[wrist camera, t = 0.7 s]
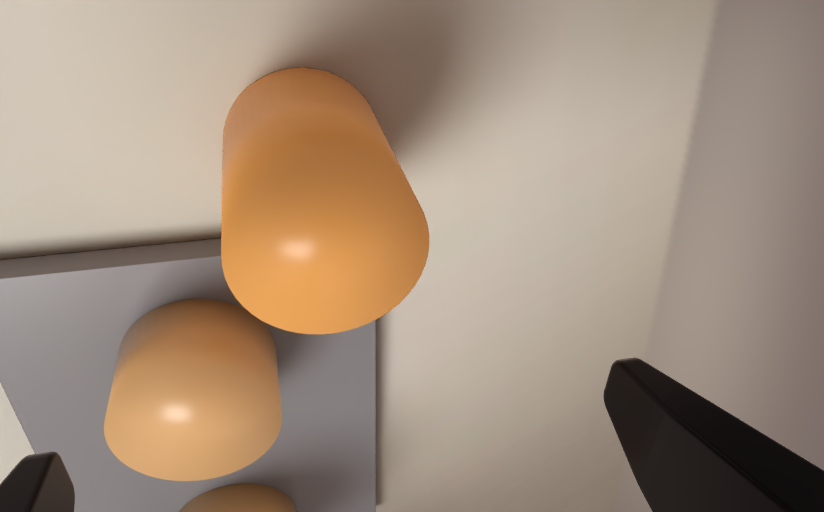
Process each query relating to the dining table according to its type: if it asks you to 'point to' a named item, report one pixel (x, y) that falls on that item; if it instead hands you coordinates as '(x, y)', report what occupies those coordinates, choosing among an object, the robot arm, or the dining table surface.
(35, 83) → the dining table surface
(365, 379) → the junction plate
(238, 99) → the orange capsule
